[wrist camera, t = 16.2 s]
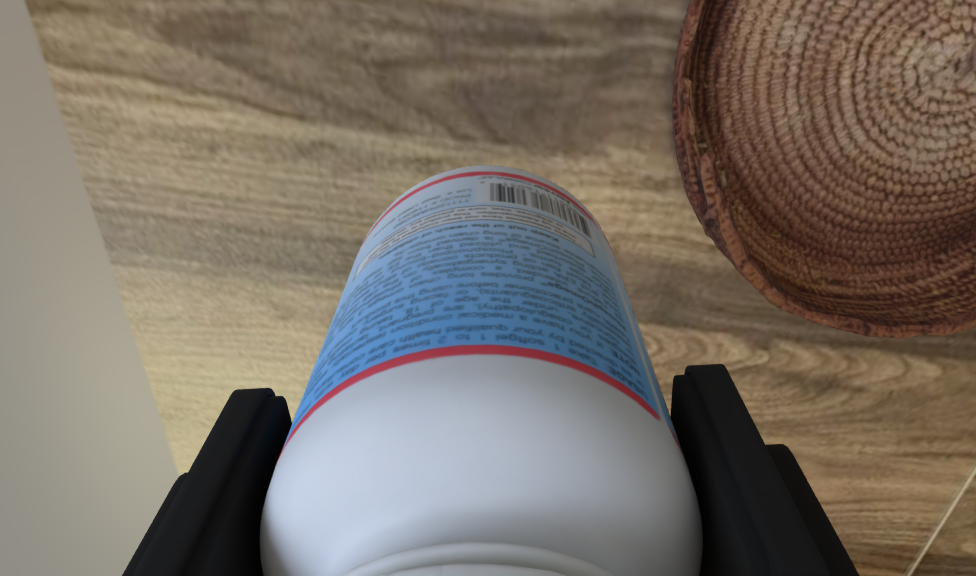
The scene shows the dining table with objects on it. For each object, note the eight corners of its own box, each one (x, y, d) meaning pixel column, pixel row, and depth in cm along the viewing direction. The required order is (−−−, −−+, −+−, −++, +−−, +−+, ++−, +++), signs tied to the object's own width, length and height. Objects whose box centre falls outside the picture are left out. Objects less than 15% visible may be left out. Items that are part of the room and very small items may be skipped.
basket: (726, -329, 23) (779, -385, 18) (1336, -304, 23) (1532, -355, 19) (634, 278, 34) (653, 332, 29) (1049, 294, 34) (1130, 351, 29)
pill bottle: (305, 266, 16) (19, 798, 7) (505, 101, 15) (523, 496, 5) (471, 423, 19) (445, 999, 9) (664, 296, 17) (907, 848, 7)
